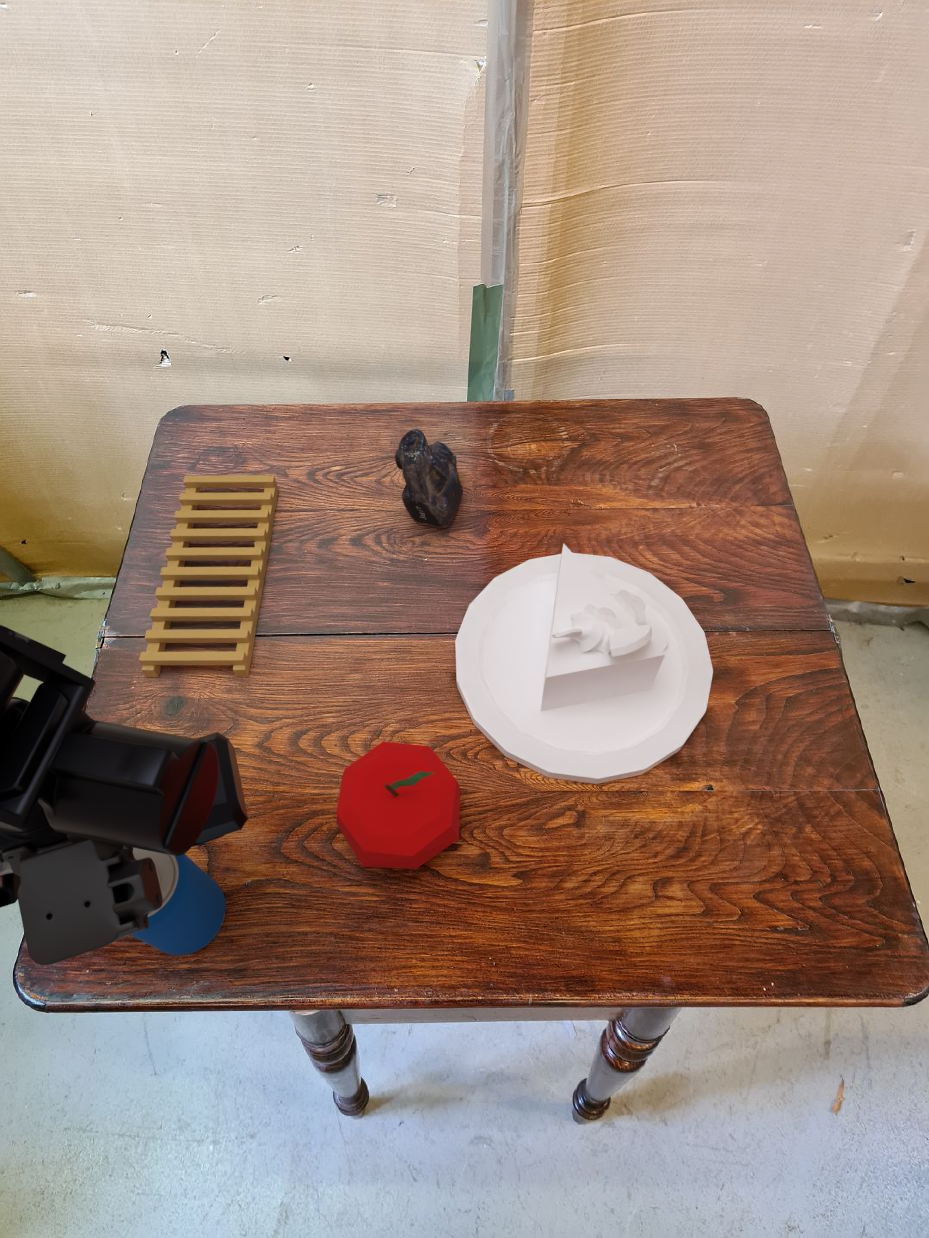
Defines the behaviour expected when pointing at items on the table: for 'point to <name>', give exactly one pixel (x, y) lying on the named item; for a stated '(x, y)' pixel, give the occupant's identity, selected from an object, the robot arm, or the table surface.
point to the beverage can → (182, 906)
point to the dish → (583, 667)
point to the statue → (428, 480)
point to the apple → (398, 806)
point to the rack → (213, 573)
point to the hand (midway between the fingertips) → (136, 859)
